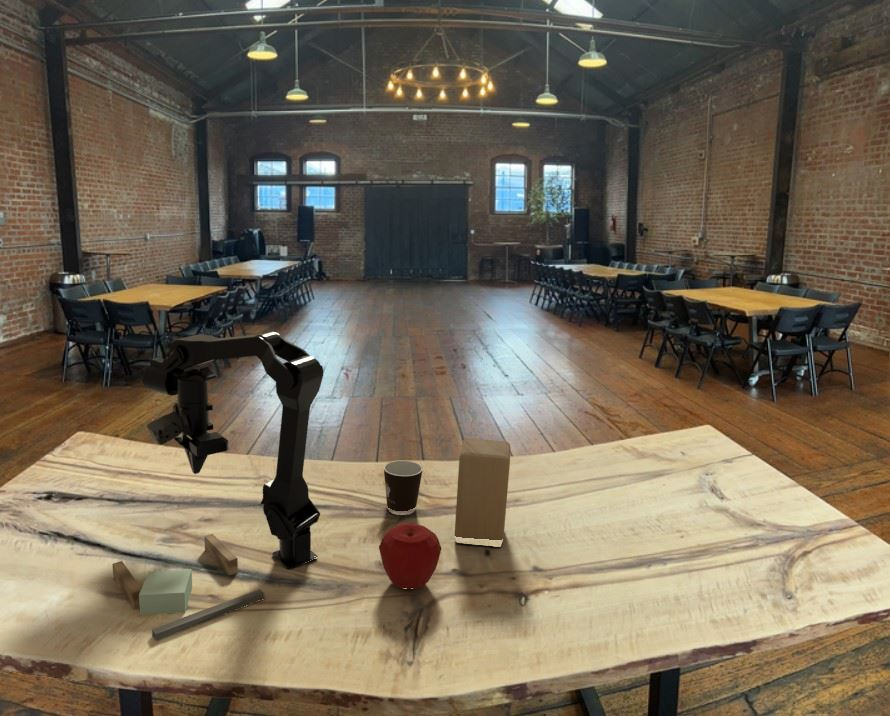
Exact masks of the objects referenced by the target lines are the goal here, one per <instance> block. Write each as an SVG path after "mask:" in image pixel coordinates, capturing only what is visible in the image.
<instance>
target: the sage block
mask: <svg viewBox="0 0 890 716" xmlns="http://www.w3.org/2000/svg"><path fill="white" fill-rule="evenodd" d="M192 571H193V570H192V568H189V569H188V568H187V569H170V570H152V571H151V570H150V571H148V573H147V574H146V577H145V580H144V582H143V584H142V586H141V588H142V589H141V591H140V594H139V604H140V607H139V615H140V616H149V615H151V616H152V615H164V613H169V614H177V613H176V612H184V613H186V612H185V611H187V607H188V605H189V601H190V598H191V594H192V590H193V573H192Z"/></svg>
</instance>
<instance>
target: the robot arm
mask: <svg viewBox="0 0 890 716" xmlns="http://www.w3.org/2000/svg"><path fill="white" fill-rule="evenodd" d="M169 347H170V348H169V351H168V353H167V354H166V356H165V358H161V357H155V358H152V359H150V360H149V365H148V367H147V368H146V369H145V371H144V373H143V376H142V378H141V379H142V384H143V387H144V388H145V389H146V390H147V391H150V392H153V393H159V394H163V395H167V396H176V397H177V402H174V404H173V405H172V412H170V413H167V414H164V415H162V416H160V417H158V418H156V419H155V420H152V421H151V422H148V424H146V427H147V430H148V432H149V434H150V437H151V438H152V440H153V441H154V442H155V443H157V444H158V446H159V445H160V446H161V445H164V444H166V443H168V442H170V441H172V440H174V441H175V442H176V443H177V444H178V445H180V446H181V447H182V448H183V449H184V451H185V455H186V457H187V460H188V463H189V465H190V468H191V472H192V473H193V474H194V475H197V474H199V473H201V471H202V468H203V466H204V464H205V463H206V460H207V459H208V456H210V455H214V454H219V453H225V452H227V451H228V450H229V440H228V439H227V438H226V437H224V436H223V435H222V434H221V433H219V432H217V431H215V432H214V431H213V432H211V431H212V430H214V424H213V423H211V422H210V411H213V410H214V409H213V408H214V407H213V404H212V403H210V402H209V381H212V380H214V379H215V380H216V379H217V378H218V376H217V373H215V372H214V371H212V370H211V368H210V367H209V366H206V367H205V366H204V367H201V368H196V366H200V365H203V364H206V363H209V362H213V361H217V360H227V359H229V360H230V359H237V358H249V357H250V358H251V357H257V358H258V359H259V360H260V362H261V364H262V366H263V367H262V368H263V369H264V372H265V373H266V375H267V376H269V377H270V378H271V379H272V380H273V381H274V382H275V392H276V396H277V397H278V399H279V401H280V402H281V408H282V410H281V420H280V431H279V440H278V441H279V442H278V450H277V451H278V452H277V462H276V472H275V476H274V478H273V479H271V480H269V481H267V482H265V483H264V484H263V485H262V499H261V502H260V505H261V506H262V511H263V515H264V516H265V518H266V521H267V524H268V525H267V526H268V528H269V531H270V534H271V535H272V536H274V537H276V539H277V540H279V541H278V542H279V550H275V551H272V553H271V554H272V556H273V558H274V559H276V560H277V561H278V560H279V561H280V562H281V563H282V564H281V563H280V562H279V561H278V562H279V563H280V564H281V565H282V566H283V567H284V568H286V569H288V570H290V568H291V569H293V568H296V567H299V566H302V565H304V564H303V563H305V562H307V563H309V562H308V561H310V560H312V559H314V558H316V557H318V555H317V554H316V553H315V552H314V551H313V550H311V546H312V545H311V543H312V542H311V541H312V535H311V534H312V532H311V526H312V525H314V524H315V523H318V522H319V519H320V517H321V512H320V511H319V510H318V508H317V507H316V505H315V504H314V503H313V502H312V500H311V499H310V497H309V486H308V483H307V482H306V479H305V477H304V473H303V472H304V466H305V458H306V457H305V456H306V446H307V440H308V439H307V438H308V428H309V421H310V412H311V405H313V402H314V400H315V399H316V397H317V395H318V394H319V392H320V388H321V386H322V382H323V378H324V367H323V365H321V363H320V361H319V360H318V359H317V358H315V357H314V356H311V355H310V354H309V353H308V352H307V351H306V350H305V349H303V348H301V347H300V346H298V345H295V344H294V343H291V342H290V341H288V340H287V339H285V338H284V337H283V336H282V335H281V334H280V333H278V332H275V331H268V332H264V333H260V334H259V333H258V334H257V333H256V334H250V335H249V334H247V335H240V336H231V337H215V336H214V335H209V334H196V335H195V334H194V335H192V336H191V335H190V336H186V337H182V338H178V339H174V340H172V341H171V343H170V346H169ZM278 357H279V358H281V359H283V360H284V361H285V362H282V361H281V360H280V359H278ZM314 556H316V557H314ZM310 562H311V561H310ZM301 564H302V565H301ZM305 564H306V563H305ZM298 565H299V566H298Z"/></svg>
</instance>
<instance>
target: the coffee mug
mask: <svg viewBox="0 0 890 716" xmlns="http://www.w3.org/2000/svg"><path fill="white" fill-rule="evenodd" d="M383 474H384V485H385V499H386V507H387V506H388V508H390V509H392V510H395V511H408V510H410V509H413V508H415V507H416V508H417V505H418V499H419V492H420V487H421V482H422V481H421V480H422V476H423V466H422V465H421V464H420V463H418V462H416V461H412V460H402V459H400V460H393V461H389V462H387V463H385V464H384V465H383Z"/></svg>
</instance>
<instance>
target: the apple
mask: <svg viewBox="0 0 890 716" xmlns="http://www.w3.org/2000/svg"><path fill="white" fill-rule="evenodd" d="M378 550H379V554H380V559H381V563H382V567H383V569H384V572H385V573H386V575H387V577H388V579H389V580H390V582H391V583H392V584H393V585H395V586H396V587H398V586H399V587H398V588H400V587H401V588H400V589H402V588H407V589H411V588H416V589H418V588H421V587H422V586H425V585H426V584H428V583H429V581H430V580H431V578H432V576H433V574H434V573H435V571H436V569H437V567H438V563H439V561H440V556H441V554H442V553H441V552H442V546H441V543H440V540H439V538H438V536H437V535H436V532H433V531H432V530H431V529H429V528H428V527H426V526H425V525H421V524H417V523H412V522H410V523H409V522H406V523H404V522H403V523H399V524H396V525H395V526H393V527H391V528H390V529H388V530H387V531H386V532H385V533H384V534H383V537H382V538H381V542H380V544H379V547H378ZM420 586H421V587H420ZM417 587H418V588H417Z"/></svg>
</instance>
